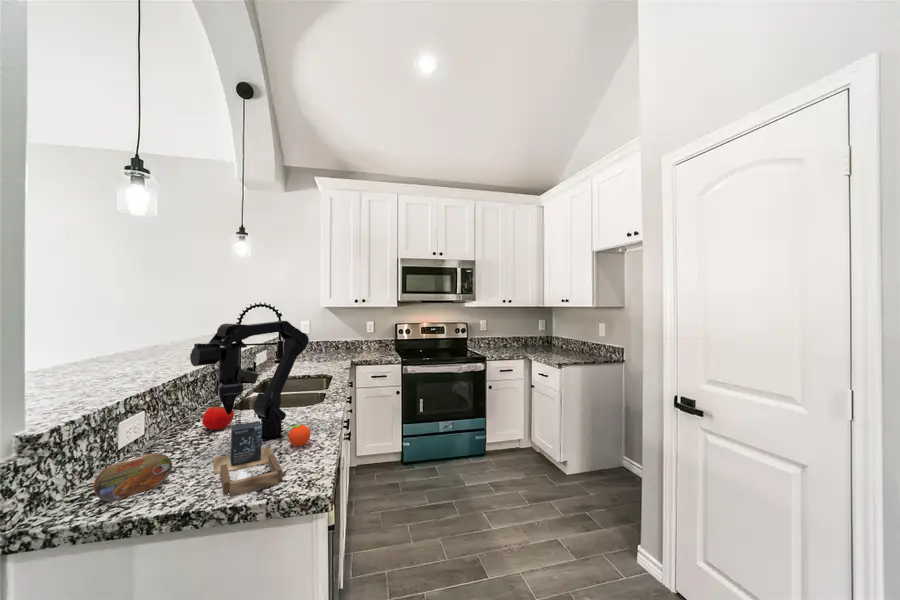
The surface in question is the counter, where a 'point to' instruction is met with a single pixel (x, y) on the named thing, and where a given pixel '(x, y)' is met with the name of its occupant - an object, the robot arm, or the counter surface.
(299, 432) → the clementine
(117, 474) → the tin
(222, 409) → the tomato
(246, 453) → the box
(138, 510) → the counter surface
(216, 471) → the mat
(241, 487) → the brown u-shaped bracket
